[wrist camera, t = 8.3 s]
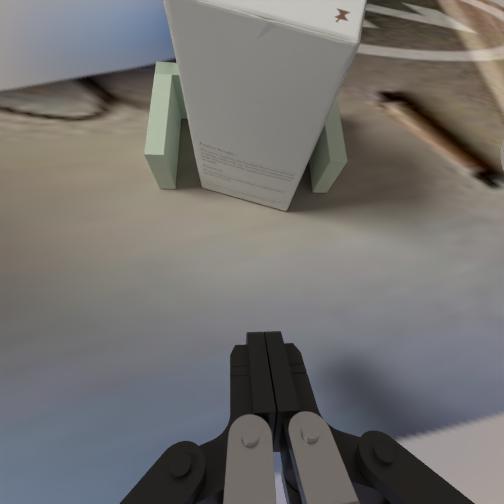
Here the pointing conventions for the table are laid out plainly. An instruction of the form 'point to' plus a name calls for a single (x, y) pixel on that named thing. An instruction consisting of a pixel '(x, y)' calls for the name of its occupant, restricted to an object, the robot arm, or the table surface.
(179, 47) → the supplement box
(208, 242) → the table surface
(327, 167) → the holder
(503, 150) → the monster figurine
